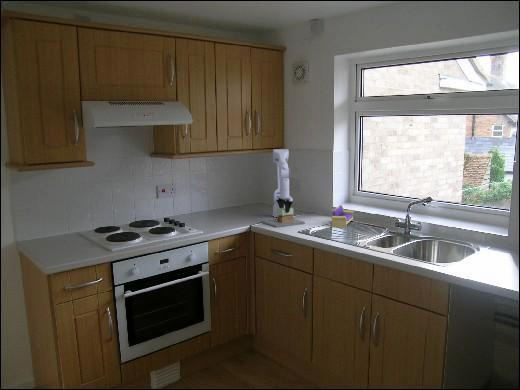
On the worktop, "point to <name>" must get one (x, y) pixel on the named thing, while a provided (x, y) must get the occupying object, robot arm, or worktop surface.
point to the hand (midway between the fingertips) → (284, 211)
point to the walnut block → (284, 218)
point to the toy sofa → (341, 217)
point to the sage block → (284, 211)
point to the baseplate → (279, 224)
